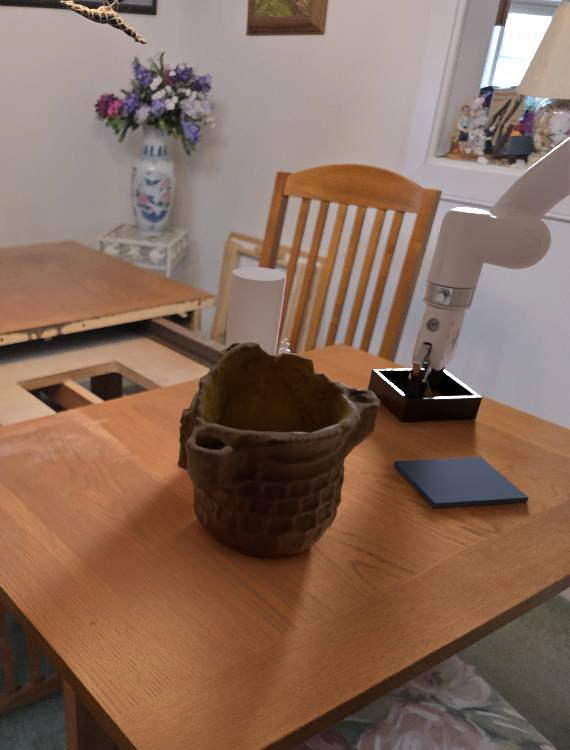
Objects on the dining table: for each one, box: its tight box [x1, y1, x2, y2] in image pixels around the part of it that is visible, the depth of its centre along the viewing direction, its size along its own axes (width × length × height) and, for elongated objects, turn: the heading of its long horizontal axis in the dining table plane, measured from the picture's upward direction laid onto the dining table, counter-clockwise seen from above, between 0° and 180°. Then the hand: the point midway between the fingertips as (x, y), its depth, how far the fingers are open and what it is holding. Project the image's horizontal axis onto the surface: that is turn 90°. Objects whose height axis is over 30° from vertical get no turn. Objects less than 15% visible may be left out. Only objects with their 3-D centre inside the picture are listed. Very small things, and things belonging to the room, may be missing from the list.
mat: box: [393, 456, 530, 509], centre depth 100 cm, size 14×12×1 cm
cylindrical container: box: [224, 266, 287, 356], centre depth 100 cm, size 7×7×25 cm
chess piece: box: [277, 338, 291, 356], centre depth 121 cm, size 5×5×10 cm
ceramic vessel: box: [177, 342, 381, 559], centre depth 81 cm, size 23×24×25 cm
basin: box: [367, 367, 483, 423], centre depth 122 cm, size 14×14×4 cm
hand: (420, 394), depth 122 cm, fingers open, 9 cm apart
